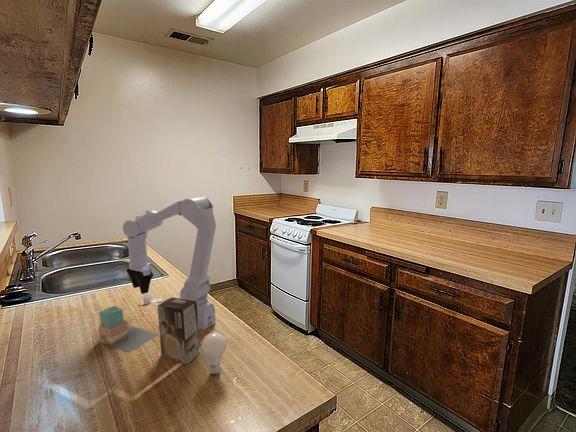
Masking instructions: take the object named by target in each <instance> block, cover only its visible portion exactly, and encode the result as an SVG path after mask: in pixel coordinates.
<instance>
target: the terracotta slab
mask: <svg viewBox="0 0 576 432" xmlns="http://www.w3.org/2000/svg"><path fill="white" fill-rule="evenodd" d="M127 322H128V321H124V323H122V324H120V325H117V326H115V327H113V328H111V329H108V328H106V327H104V326H101V324H100V325H98V334H102V335H105V336H107V337H110V338H112V337H114V336H116V335H118V334H119V333H121V332H123V331H125V330H127V326H128V323H127Z"/></svg>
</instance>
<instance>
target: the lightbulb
mask: <svg viewBox="0 0 576 432" xmlns="http://www.w3.org/2000/svg"><path fill="white" fill-rule="evenodd" d="M200 348H201V352H202V354H203V356H204V357H206V359H207V363H208V364H209V373H210V374H211V375H216V374H219V373H220V371H221V360H222V357H223V355H224V354H225V351H226V349H227V340H226V338H225V337H224V336H223V334H222V333H219V332H216V331H215V332H210V333H208V334H206V335H205V337H204V338H202V341H201V347H200Z"/></svg>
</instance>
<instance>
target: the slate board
mask: <svg viewBox="0 0 576 432" xmlns="http://www.w3.org/2000/svg"><path fill="white" fill-rule="evenodd" d="M127 331H128V337H127V338H125V339H123V340H121V341H119V342H118V343H116V344H114V345H109V344H106V343H103V342H101V341H100V339H98V341H97V342H99V343H101V344H104V345H106V346H110V347H112V348H116V349H117V350H121V351H124V352H126V353H130V352H132V351H134V350H135V349H136V350H137V348H139V347H140V346H142V345H144V344H146V343H148V342H149V341H151V340H153V339H155V338H156V337H158V336H160V333H159V334H158V333H154V332H152V331H148V330H145V329H142V328H139V327H135V326H132V325H130V324H129V325H127Z"/></svg>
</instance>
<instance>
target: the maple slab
mask: <svg viewBox="0 0 576 432" xmlns="http://www.w3.org/2000/svg"><path fill="white" fill-rule="evenodd" d="M98 334H99V333H98ZM127 337H128V331H127V330H125V331H123V332H121V333H119V334H118V335H116V336H114V337H112V338H110V337H107V336H105V335H102V334H99V340H100V341H101V342H103V343H102V344H104V343H106V344H105V345H107V344H109V345H114V344H116V343H118V342H119V341H121V340H123V339H125V338H127ZM101 342H100V343H101ZM109 345H108V346H109Z"/></svg>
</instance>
